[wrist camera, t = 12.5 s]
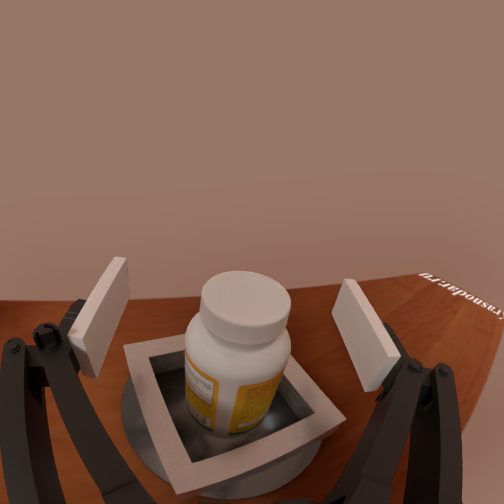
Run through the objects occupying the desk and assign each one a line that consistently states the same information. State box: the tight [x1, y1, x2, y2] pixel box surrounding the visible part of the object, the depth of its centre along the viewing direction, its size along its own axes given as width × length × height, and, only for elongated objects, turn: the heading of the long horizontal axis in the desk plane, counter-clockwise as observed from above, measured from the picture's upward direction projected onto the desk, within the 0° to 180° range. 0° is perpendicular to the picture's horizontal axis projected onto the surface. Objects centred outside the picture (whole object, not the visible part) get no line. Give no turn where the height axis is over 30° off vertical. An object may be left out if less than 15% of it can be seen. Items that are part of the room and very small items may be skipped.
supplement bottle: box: [185, 271, 291, 438], centre depth 14 cm, size 5×5×10 cm
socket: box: [121, 334, 346, 501], centre depth 16 cm, size 14×14×2 cm
